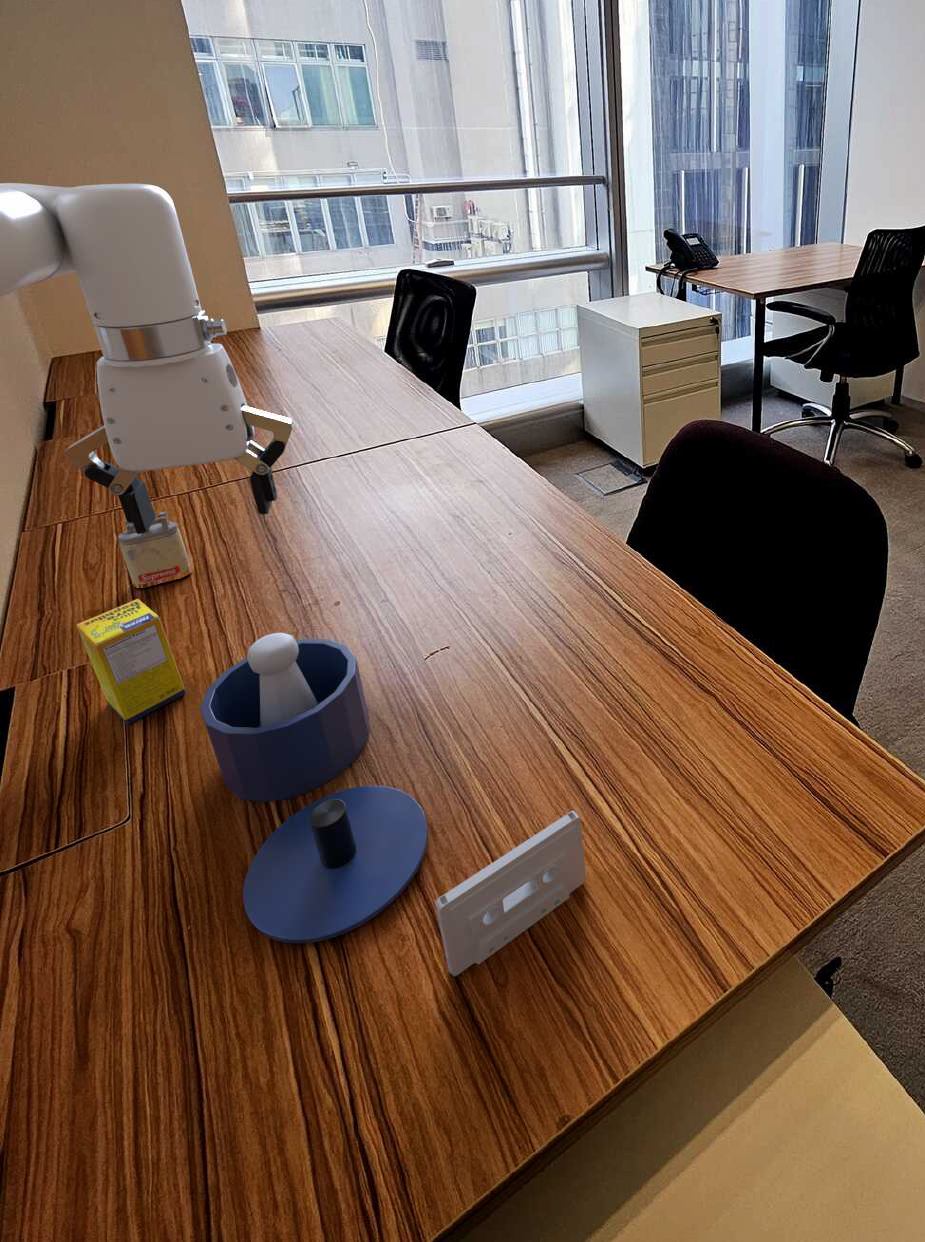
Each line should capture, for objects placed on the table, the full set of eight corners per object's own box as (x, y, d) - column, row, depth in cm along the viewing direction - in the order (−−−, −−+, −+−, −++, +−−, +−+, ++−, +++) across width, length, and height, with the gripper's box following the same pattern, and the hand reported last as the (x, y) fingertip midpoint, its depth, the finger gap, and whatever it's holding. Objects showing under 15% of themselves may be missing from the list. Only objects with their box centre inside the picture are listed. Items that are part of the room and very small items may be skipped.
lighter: (132, 592, 103) (110, 530, 99) (134, 579, 106) (113, 518, 102) (192, 577, 106) (174, 516, 103) (193, 565, 109) (174, 505, 106)
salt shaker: (253, 756, 75) (221, 653, 70) (299, 717, 80) (272, 618, 75) (296, 773, 73) (266, 667, 68) (341, 732, 78) (316, 631, 73)
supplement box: (165, 674, 87) (138, 596, 83) (187, 694, 84) (160, 615, 80) (105, 704, 83) (74, 623, 79) (127, 726, 80) (95, 644, 75)
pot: (209, 820, 69) (185, 750, 65) (237, 719, 80) (217, 656, 77) (367, 777, 73) (351, 710, 70) (371, 687, 85) (358, 627, 82)
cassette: (578, 869, 64) (572, 804, 61) (590, 884, 62) (584, 819, 60) (445, 964, 57) (430, 896, 54) (455, 984, 55) (440, 915, 52)
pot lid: (229, 977, 56) (209, 923, 54) (260, 821, 68) (245, 772, 66) (432, 910, 61) (421, 857, 58) (426, 775, 73) (417, 728, 71)
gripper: (276, 319, 68) (314, 485, 75) (48, 337, 63) (110, 515, 69) (264, 339, 62) (306, 519, 68) (8, 361, 56) (80, 555, 62)
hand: (207, 517), depth 69 cm, fingers open, 9 cm apart
